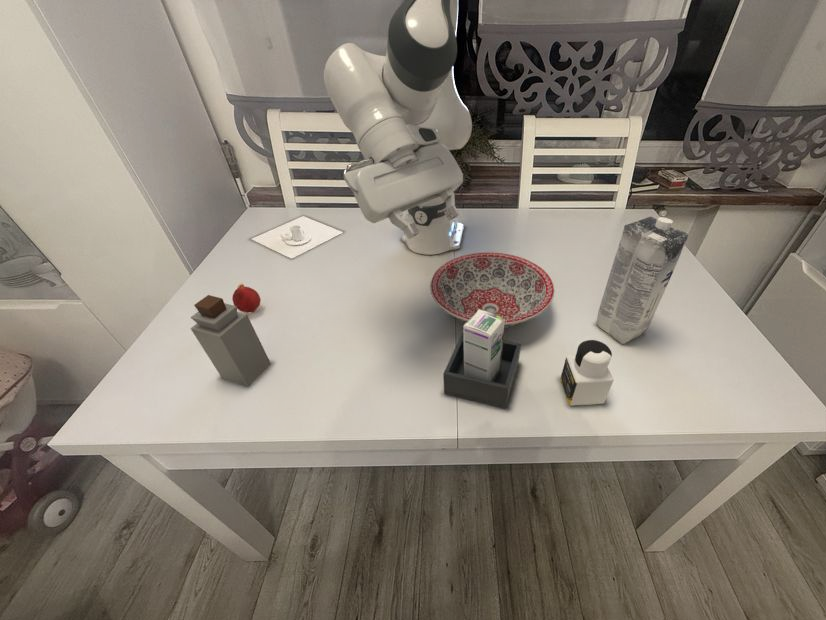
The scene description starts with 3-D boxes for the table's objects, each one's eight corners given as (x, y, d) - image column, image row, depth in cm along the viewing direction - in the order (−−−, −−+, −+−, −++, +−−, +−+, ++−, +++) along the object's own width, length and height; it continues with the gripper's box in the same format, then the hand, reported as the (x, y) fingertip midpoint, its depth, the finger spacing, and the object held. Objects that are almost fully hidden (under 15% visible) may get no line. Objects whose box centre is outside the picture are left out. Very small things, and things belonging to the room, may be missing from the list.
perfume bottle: (270, 363, 83) (237, 295, 71) (248, 386, 79) (208, 317, 66) (245, 356, 85) (208, 287, 72) (221, 377, 80) (177, 308, 68)
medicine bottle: (559, 379, 81) (570, 336, 73) (593, 377, 81) (608, 334, 73) (569, 406, 76) (582, 363, 67) (604, 404, 76) (622, 361, 68)
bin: (462, 351, 86) (462, 331, 82) (518, 363, 84) (521, 343, 80) (444, 394, 78) (443, 373, 74) (505, 408, 75) (508, 388, 71)
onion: (256, 320, 93) (243, 293, 88) (234, 317, 94) (220, 290, 89) (269, 306, 98) (258, 279, 92) (248, 303, 98) (236, 276, 93)
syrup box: (488, 390, 77) (492, 335, 67) (462, 378, 79) (462, 324, 69) (501, 371, 81) (506, 317, 71) (476, 361, 83) (478, 307, 73)
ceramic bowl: (534, 364, 84) (539, 337, 78) (411, 332, 91) (408, 305, 85) (559, 290, 103) (564, 264, 98) (457, 269, 111) (456, 243, 105)
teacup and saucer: (278, 240, 121) (273, 228, 118) (299, 230, 126) (295, 218, 123) (296, 249, 118) (292, 236, 115) (317, 238, 123) (313, 226, 120)
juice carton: (623, 349, 87) (667, 239, 69) (589, 323, 94) (621, 216, 75) (649, 335, 91) (698, 227, 72) (615, 311, 97) (651, 206, 79)
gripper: (343, 155, 56) (394, 240, 58) (444, 127, 67) (484, 199, 69) (332, 178, 62) (380, 256, 64) (428, 149, 72) (465, 216, 74)
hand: (435, 226), depth 66 cm, fingers open, 8 cm apart
